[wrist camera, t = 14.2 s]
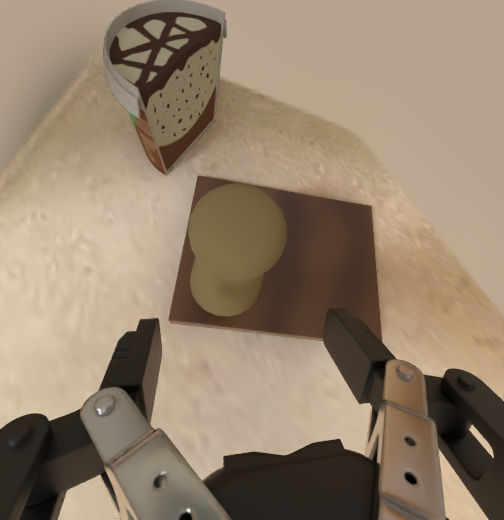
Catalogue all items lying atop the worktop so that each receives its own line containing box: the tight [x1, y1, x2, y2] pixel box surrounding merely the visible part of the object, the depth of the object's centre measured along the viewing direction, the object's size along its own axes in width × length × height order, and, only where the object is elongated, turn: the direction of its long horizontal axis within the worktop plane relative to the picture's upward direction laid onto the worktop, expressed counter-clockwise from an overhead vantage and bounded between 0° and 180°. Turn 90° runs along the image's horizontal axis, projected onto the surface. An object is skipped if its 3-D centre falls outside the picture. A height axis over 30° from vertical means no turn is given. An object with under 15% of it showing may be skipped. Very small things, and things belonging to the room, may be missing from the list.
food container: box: [103, 0, 227, 175], centre depth 25 cm, size 12×6×10 cm, turn 151°
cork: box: [188, 183, 287, 317], centre depth 18 cm, size 6×6×11 cm
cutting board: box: [169, 176, 382, 342], centre depth 26 cm, size 18×14×2 cm
